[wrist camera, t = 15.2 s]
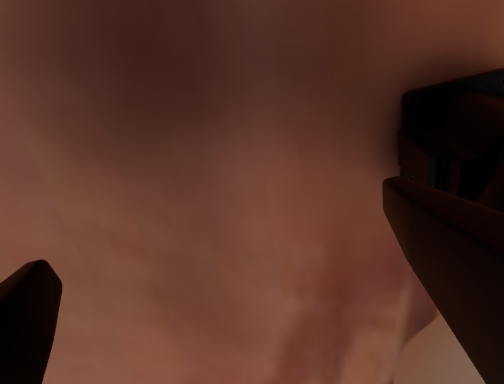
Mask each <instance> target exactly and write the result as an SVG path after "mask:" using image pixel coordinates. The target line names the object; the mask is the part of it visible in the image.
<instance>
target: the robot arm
mask: <svg viewBox="0 0 504 384" xmlns="http://www.w3.org/2000/svg"><path fill="white" fill-rule="evenodd" d="M503 77H504V69H499V70H495V71H491V72H487V73H483V74H479V75H475V76H470V77H466V78H462V79H458V80H454V81H450V82H446V83H441V84H437V85H433V86H429V87H425V88H421V89H417V90H412V91H409V92H407V93H406V94H405V95H404V96H403V98H402V127H401V128H400V129H399V131H398V164H399V165H400V166H401V176H395V177H391V178H387V179H385V180H384V181H383V209H384V212H385V215H386V217H387V219H388V221H389V223H390V225H391V228H392V230H393V232H394V234H395V236H396V238H397V240H398V242H399V244H400V246H401V248H402V251H403V253H404V255H405V257H406V259H407V261H408V262H409V264H410V266H411V267H412V269H413V271H414V272H415V274H416V275H417V277H418V278H419V280H420V282H421V283H422V285H423V286H424V288H425V289H426V291H427V293H428V294H429V296H430V297H431V299H432V300H433V302H434V303H435V305H436V307H437V308H438V310H439V311H440V313H441V314H442V316H443V317H444V319H445V321H446V322H447V324H448V325H449V327H450V328H451V330H452V332H453V333H454V335H455V336H456V338H457V339H458V341H459V342H460V344H461V346H462V347H463V349H464V350H465V352H466V353H467V355H468V357H469V358H470V360H471V361H472V363H473V364H474V366H475V367H476V369H477V370H478V372H479V374H480V375H481V377H482V378H483V380H484V382H485V383H486V384H504V80H503V81H502V78H503ZM412 97H414V101H413V102H411V103H409V100H410V99H411V98H412ZM408 177H411V178H410V179H408ZM61 295H62V282H61V280H60V278H59V277H58V276H57V274H56V273H55V271H54V270H53V269H52V267H51V266H50V265H49V263H48V262H47V261H45V260H37V261H32V262H28V263H26V264H25V265H24V266H22V267H21V268H20V269H18V270H17V271H16V272H14V273H13V274H12V275H11V276H9V277H8V278H7V279H5V280H4V281H3V282H1V283H0V384H42V381H43V377H44V374H45V370H46V367H47V363H48V360H49V356H50V353H51V349H52V345H53V340H54V335H55V330H56V324H57V318H58V312H59V306H60V301H61Z"/></svg>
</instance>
